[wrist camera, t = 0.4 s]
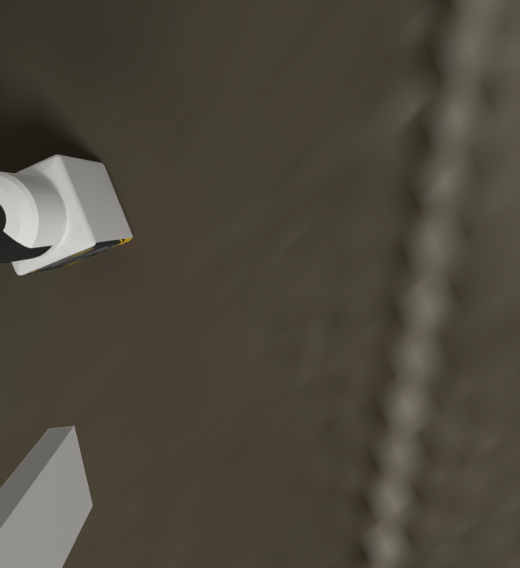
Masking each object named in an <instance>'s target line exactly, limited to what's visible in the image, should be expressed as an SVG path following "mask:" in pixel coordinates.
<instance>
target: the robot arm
mask: <svg viewBox="0 0 520 568" xmlns="http://www.w3.org/2000/svg"><path fill="white" fill-rule="evenodd" d="M92 506H93V505H92V501H91V497H90V492H89V488H88V484H87V479H86V475H85V470H84V466H83V462H82V457H81V453H80V449H79V444H78V440H77V436H76V431H75V427H74V426H67V427H58V428H49V429H48V430H47V431H46V432H45V434H44V435H43V436H42V437H41V439H40V440H39V441H38V442H37V444H36V445H35V446H34V447H33V449H32V450H31V451H30V452H29V453H28V455H27V456H26V457H25V458H24V460H23V461H22V462H21V463H20V465H19V466H18V467H17V468H16V470H15V471H14V472H13V473H12V475H11V476H10V477H9V478H8V479H7V481H6V482H5V483H4V484H3V486H2V487H1V488H0V568H62V567H63V565H64V562H65V560H66V558H67V556H68V554H69V552H70V550H71V548H72V546H73V544H74V542H75V540H76V538H77V536H78V534H79V532H80V530H81V528H82V526H83V524H84V522H85V520H86V518H87V516H88V514H89V512H90V510H91V508H92Z"/></svg>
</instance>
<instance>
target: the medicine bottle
mask: <svg viewBox="0 0 520 568" xmlns="http://www.w3.org/2000/svg"><path fill="white" fill-rule="evenodd" d="M132 238H133V236H132V233H131V231H130V228H129V226H128V223H127V221H126V218H125V216H124V213H123V211H122V208H121V206H120V203H119V201H118V198H117V196H116V193H115V191H114V188H113V186H112V183H111V181H110V178H109V176H108V173H107V171H106V168H105V166H104V164H102V163H100V162H95V161H89V160H84V159H79V158H74V157H69V156H63V155H54V156H51V157H49V158H47V159H45V160H43V161H41V162H39V163H36V164H34V165H32V166H30V167H28V168H26V169H23V170H21V171H19V172H17V173H9V172H0V263H9V262H12V264H13V267H14V269H15V271H16V273H17V274H18V275H26V274H30V273H35V272H40V271H45V270H49V269H54V268H59V267H64V266H68V265H71V264H73V263H76V262H78V261H81V260H83V259H86V258H88V257H91V256H93V255H96V254H98V253H101V252H103V251H106V250H108V249H111V248H113V247H116V246H118V245H121V244H123V243H126V242H128V241H130V240H132Z"/></svg>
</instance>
